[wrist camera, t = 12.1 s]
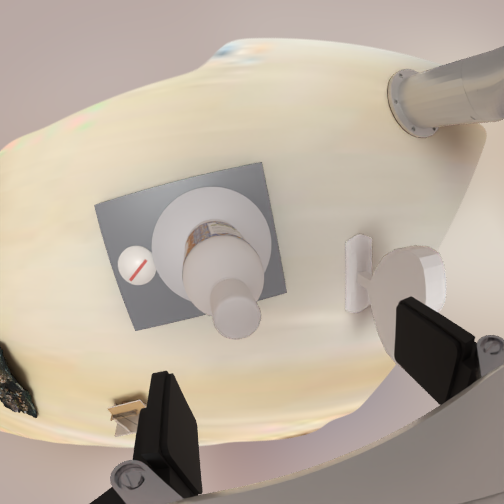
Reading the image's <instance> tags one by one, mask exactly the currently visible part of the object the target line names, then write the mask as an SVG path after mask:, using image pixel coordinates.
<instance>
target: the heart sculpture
mask: <svg viewBox="0 0 504 504" xmlns="http://www.w3.org/2000/svg"><path fill="white" fill-rule="evenodd" d="M345 253H346V299H345V311H348V312H352V313H358V312H360V311H362V310H364V309H365V308H366V307H368V306H369V305H371V309H372V314H373V318H374V321H375V325H376V328H377V332H378V335H379V337H380V340H381V342H382V344H383V346H384V348H385V351H386V352H387V354H388V355H389V356H390V357H391V358H392V360H393V361H394V362H395V363H396V364H397V365H398V366H400V365H399V364H398V363H397V362H396V360H395V358H394V348H395V329H396V307H397V306H398V303H399V301H401V300H403V299H405V298H408V297H411V296H412V297H414V298H415V299H417V300H419V301H420V302H422V303H423V304H425V305H427V306H428V307H430V308H431V309H433V310H435V311H436V312H439V311H440V310H441V309H442V307H443V305H444V303H445V298H446V274H445V266H444V262H443V260H442V257H441V255H440V253H439V252H437V251H435V250H434V249H432V248H430V247H427V246H417V245H415V246H409V247H404V248H399V249H394V250H393V251H391V252H390V253H388V254H387V255H385V256H384V257H383V258H382V260H381V261H380V263H379V264H378V266H377V267H376V269H375V271H374V274H373V275H372V238H370V237H368V236H366V235H363V234H358V235H355V236H354V237H352V238H351V239H349V240H348V241H347V242H346V243H345ZM400 367H401V366H400ZM401 368H402V367H401Z"/></svg>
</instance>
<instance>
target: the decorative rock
mask: <svg viewBox="0 0 504 504" xmlns="http://www.w3.org/2000/svg"><path fill="white" fill-rule="evenodd" d="M2 353H3V350H2V349H1V347H0V401H1V402H2V403H3V404H4V406H5V407H6V408H9V409H11V410H12V411H14V412H19V413H20V411H22V412H23V413H27V414H28V415H31V416H33V417H34V418H37V412H36V409H35V408H34V404H33V403H32V401H31V395H29V392H28V391H27V390H24V389H23V387H22V386H21V385H19V383H18V382H17V381H16V380H15V378H14V376H13V375H12V374H11V373H10V370H9V368H8V366H7V363H6V361H5V358H4V357H3V354H2Z"/></svg>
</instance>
